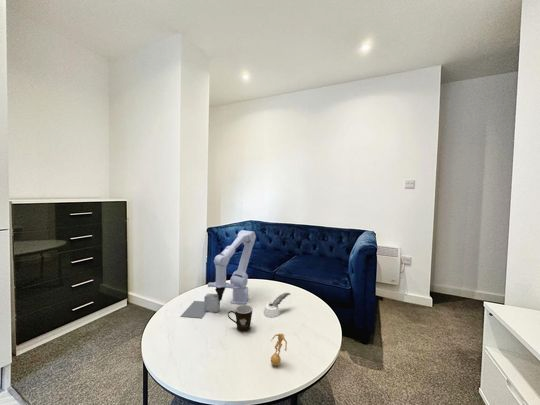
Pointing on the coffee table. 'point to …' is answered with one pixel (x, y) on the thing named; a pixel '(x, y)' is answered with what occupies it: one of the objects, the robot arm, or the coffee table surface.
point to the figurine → (275, 357)
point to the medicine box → (211, 302)
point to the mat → (195, 310)
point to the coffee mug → (242, 317)
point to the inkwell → (274, 306)
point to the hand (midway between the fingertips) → (220, 299)
